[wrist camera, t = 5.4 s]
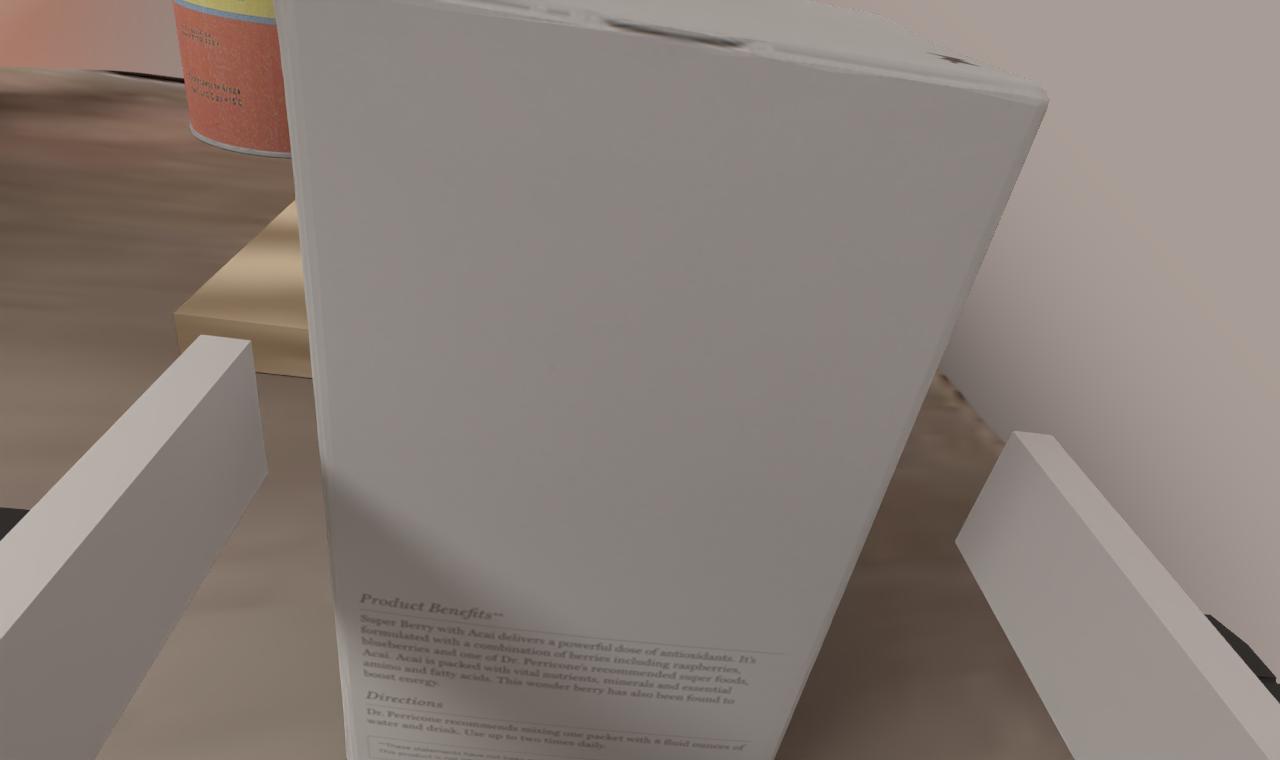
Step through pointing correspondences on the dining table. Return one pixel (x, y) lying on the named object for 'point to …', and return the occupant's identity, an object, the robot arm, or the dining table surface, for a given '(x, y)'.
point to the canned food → (234, 75)
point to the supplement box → (619, 348)
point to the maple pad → (257, 301)
